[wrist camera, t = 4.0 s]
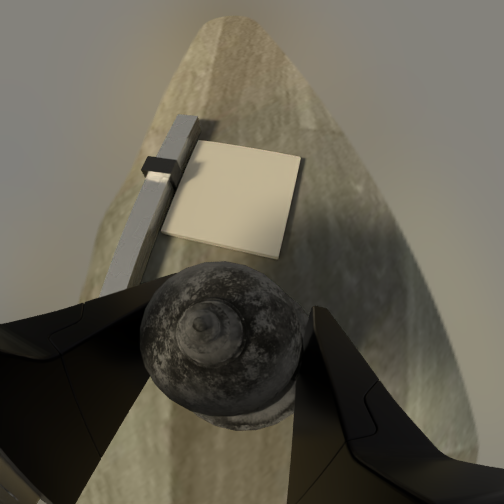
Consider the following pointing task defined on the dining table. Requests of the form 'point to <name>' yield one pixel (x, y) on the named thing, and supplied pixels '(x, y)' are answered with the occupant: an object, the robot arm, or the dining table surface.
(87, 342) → the robot arm
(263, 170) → the groove pad
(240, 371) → the dark grey tiered figure
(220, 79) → the dining table surface
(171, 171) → the white rectangular bar
